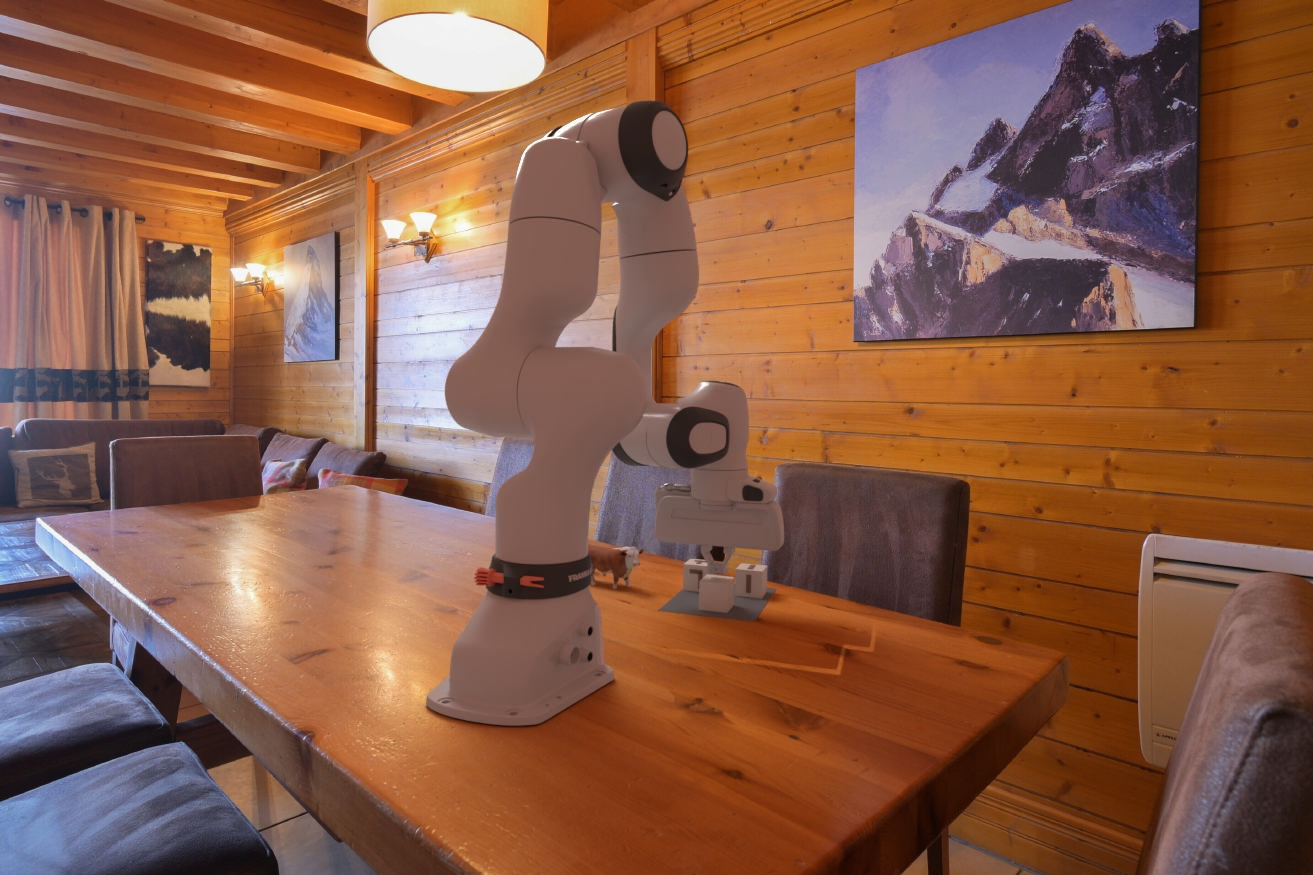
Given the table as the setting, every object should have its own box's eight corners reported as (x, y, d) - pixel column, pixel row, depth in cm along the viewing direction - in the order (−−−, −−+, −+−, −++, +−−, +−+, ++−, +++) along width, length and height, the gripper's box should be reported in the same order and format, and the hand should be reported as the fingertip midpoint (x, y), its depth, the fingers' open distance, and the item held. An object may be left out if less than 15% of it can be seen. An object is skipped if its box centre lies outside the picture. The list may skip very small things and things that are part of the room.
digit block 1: (761, 598, 121) (762, 570, 120) (734, 595, 122) (735, 568, 122) (766, 591, 125) (767, 564, 125) (740, 589, 127) (741, 562, 126)
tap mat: (754, 625, 108) (754, 621, 108) (657, 614, 113) (657, 610, 113) (776, 591, 127) (776, 588, 127) (692, 583, 132) (692, 580, 132)
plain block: (727, 612, 112) (727, 583, 112) (698, 609, 114) (699, 580, 114) (733, 605, 117) (734, 577, 116) (706, 602, 118) (706, 574, 118)
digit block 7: (708, 593, 124) (709, 565, 123) (682, 590, 125) (683, 563, 125) (715, 586, 128) (715, 560, 128) (690, 583, 129) (690, 557, 129)
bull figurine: (634, 598, 122) (635, 550, 121) (574, 585, 130) (575, 539, 129) (650, 593, 125) (651, 546, 125) (591, 580, 133) (592, 535, 133)
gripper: (649, 484, 115) (648, 572, 116) (781, 492, 108) (778, 584, 109) (661, 480, 121) (660, 563, 122) (787, 487, 114) (784, 574, 115)
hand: (717, 573), depth 115 cm, fingers closed
